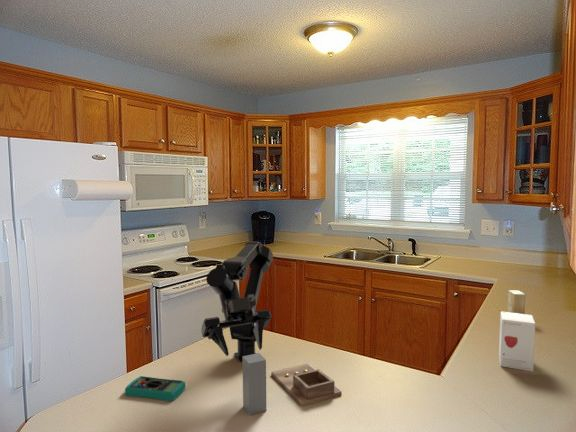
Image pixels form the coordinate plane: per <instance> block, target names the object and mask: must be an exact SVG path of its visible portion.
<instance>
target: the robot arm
mask: <svg viewBox="0 0 576 432" xmlns="http://www.w3.org/2000/svg"><path fill="white" fill-rule="evenodd" d="M273 260H274V254H273V252H272V250H271V249H270V247H267V246H265V245H264V244H262V242H259V241H247V242H246V243H245V246H244V247H243V248H242V249H241V250H240V251H239V252H238V253H237V254H236V255H235V256H234V257H231V258H227V259H224V261H222V263H221V264H216V267H215V268H213V269H211V270H210V271H209V272H208V273H207V275H206V284H207V285H209V287H210V288H211V289H212V290H213V291H214V292H215V294H217V295H218V296H219V299H220V304H221V305H220V306H221V312H222V314H223V316H224V320H220V318H219V317H218V316H215V317H206V318H204V320H203V322H202V326H201V328H200V329H201V335H202V337H203V338H208V340H212V341H213V342H214V343H215V344H216V345H217V346H218V347H219V349H220V350H221V351H222V353H223V354H224V355H225V356H226V357H228V356H229V348H228V345H227V342H226V339H225V336H224V329H226V328H227V329H228V328H229V332H230V338H231V340H236V341H237V352H234V353H233V355H234V356H235V358H236V359H238V361H239V362H242V363H243V360H242V356H247V355H252V354H257V353H256V344H257V347H258V349H259V350H262V348H263V333H264V329H265V327H267V326H268V325H269V324H270V323H269V322H270V321H271V320H272V313H271V311H269V310H268V309H261V310H256V308H257V304H258V301H259V300H258V298H259V296H260V295H259V294H260V290H261V286H262V281H263V277H264V275H265V273H266V272H267V271H269V270H270V268H271V263H272V262H273ZM248 267H249V268H250V270H249V268H248ZM248 273H249V275H248ZM247 276H248V278H247V279H248V280H247V283H246V286H245V291H244V296H242V297H241V294H240V290H239V286H238V283H237V282H236V281H238V282H239V281H240V282H243V281H244V280H245V278H246V277H247Z"/></svg>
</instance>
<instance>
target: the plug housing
mask: <svg viewBox="0 0 576 432" xmlns="http://www.w3.org/2000/svg"><path fill="white" fill-rule="evenodd" d="M242 360H243V361H242V406H243V407H242V408H244V410H245V411H246V412H247V414H248V415H249V416H251V415H256V414H259V413H262V412H266V411H267V359H266V358H265V357H264V356H263V355H262V354H261V353H260V352H257V353H256V354H252V355H247V356H242Z"/></svg>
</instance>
